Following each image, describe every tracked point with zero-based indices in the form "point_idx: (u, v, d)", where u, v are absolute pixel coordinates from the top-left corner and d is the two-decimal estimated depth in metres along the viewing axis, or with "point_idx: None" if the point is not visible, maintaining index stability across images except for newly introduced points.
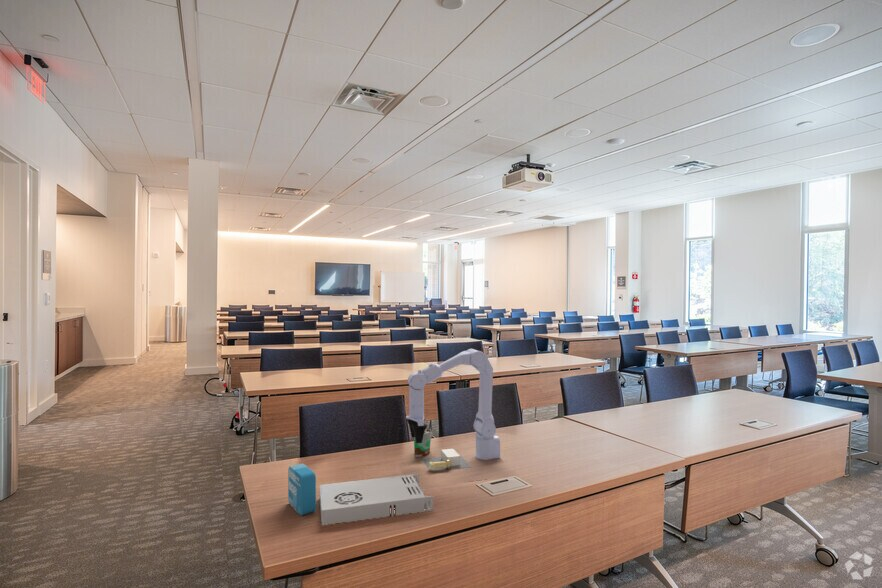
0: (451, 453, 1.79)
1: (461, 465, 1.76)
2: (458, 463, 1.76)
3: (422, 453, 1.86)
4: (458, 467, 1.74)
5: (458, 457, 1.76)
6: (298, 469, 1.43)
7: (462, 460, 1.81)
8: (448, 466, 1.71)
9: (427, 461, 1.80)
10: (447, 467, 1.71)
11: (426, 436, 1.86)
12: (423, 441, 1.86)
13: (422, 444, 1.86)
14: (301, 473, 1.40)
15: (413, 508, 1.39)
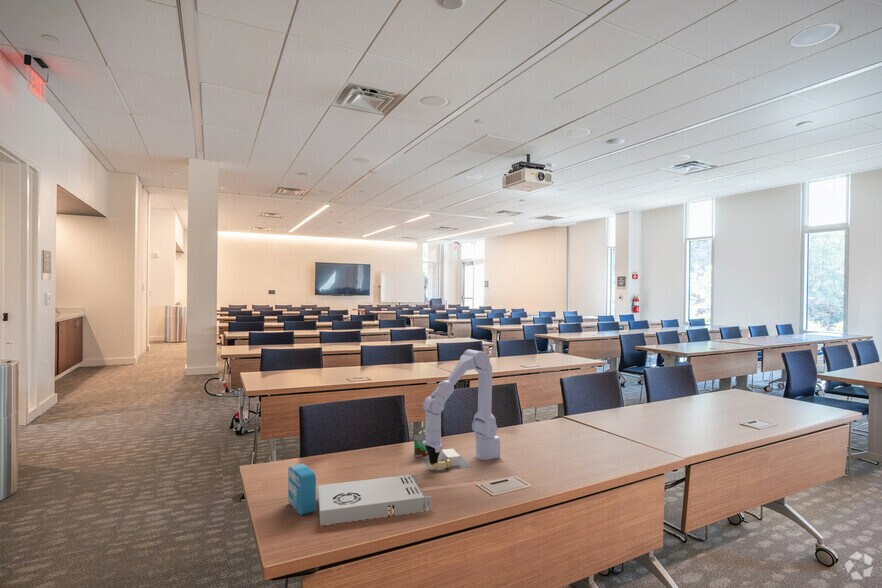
0: (451, 453, 1.79)
1: (461, 465, 1.76)
2: (458, 463, 1.76)
3: (422, 453, 1.86)
4: (458, 467, 1.74)
5: (458, 457, 1.76)
6: (298, 469, 1.43)
7: (462, 460, 1.81)
8: (448, 466, 1.71)
9: (427, 461, 1.80)
10: (447, 467, 1.71)
11: None
12: None
13: (422, 444, 1.86)
14: (301, 473, 1.40)
15: (412, 508, 1.39)
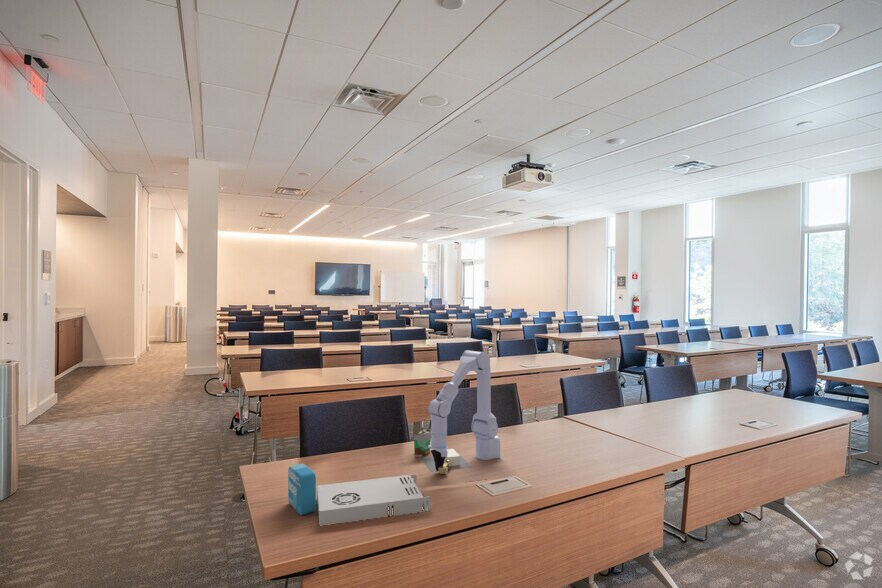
0: (451, 453, 1.79)
1: (461, 465, 1.76)
2: (458, 463, 1.76)
3: (422, 453, 1.86)
4: (458, 467, 1.74)
5: (458, 457, 1.76)
6: (298, 469, 1.43)
7: (462, 460, 1.81)
8: (450, 465, 1.72)
9: (427, 461, 1.80)
10: (449, 467, 1.72)
11: (426, 436, 1.86)
12: (423, 441, 1.86)
13: (422, 444, 1.86)
14: (301, 473, 1.40)
15: (411, 508, 1.39)
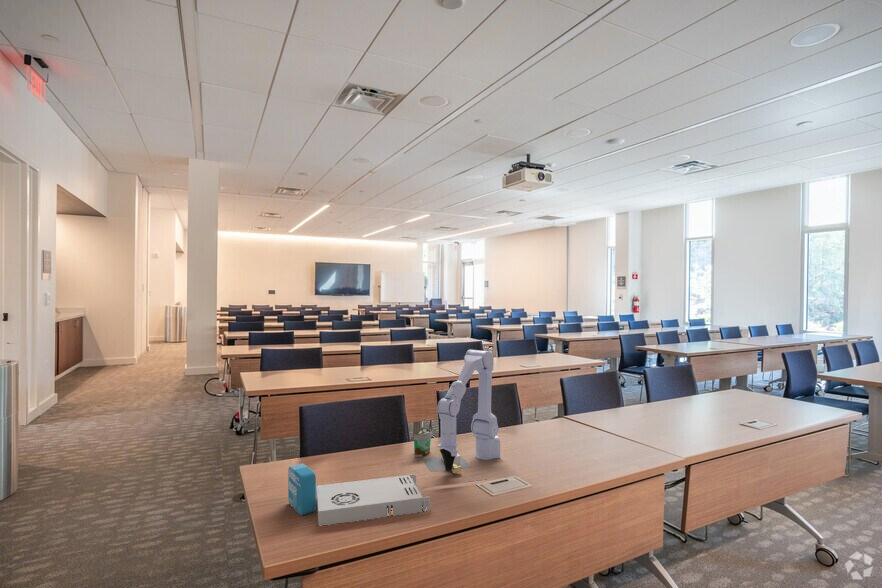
0: None
1: (461, 465, 1.76)
2: (458, 463, 1.76)
3: (422, 453, 1.86)
4: None
5: (458, 457, 1.76)
6: (298, 469, 1.43)
7: (462, 460, 1.81)
8: None
9: (427, 461, 1.80)
10: None
11: (426, 436, 1.86)
12: (423, 441, 1.86)
13: (422, 444, 1.86)
14: (301, 473, 1.40)
15: (410, 509, 1.39)
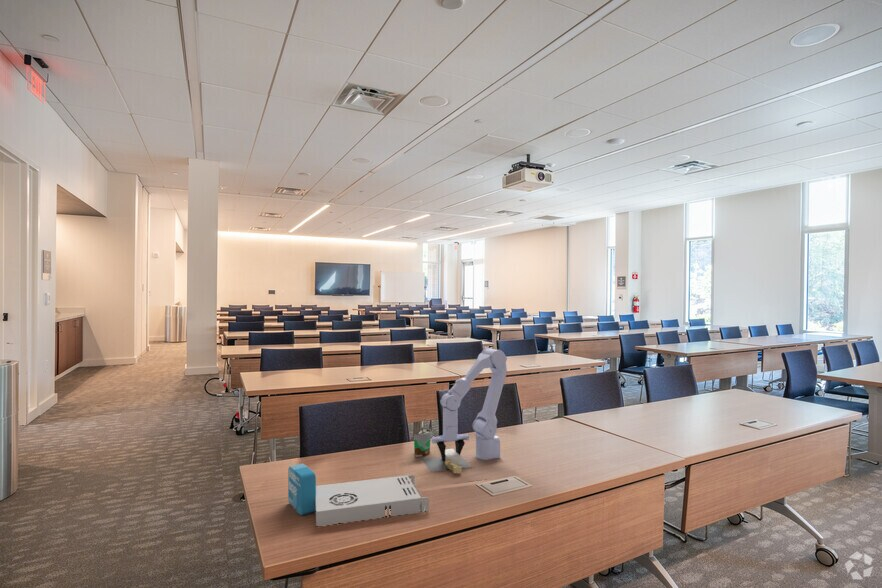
0: (451, 453, 1.79)
1: (461, 465, 1.76)
2: (458, 463, 1.76)
3: (422, 453, 1.86)
4: None
5: (458, 457, 1.76)
6: (298, 469, 1.43)
7: (462, 460, 1.81)
8: None
9: (427, 461, 1.80)
10: None
11: (426, 436, 1.86)
12: (423, 441, 1.86)
13: (422, 444, 1.86)
14: (301, 473, 1.40)
15: (408, 509, 1.39)
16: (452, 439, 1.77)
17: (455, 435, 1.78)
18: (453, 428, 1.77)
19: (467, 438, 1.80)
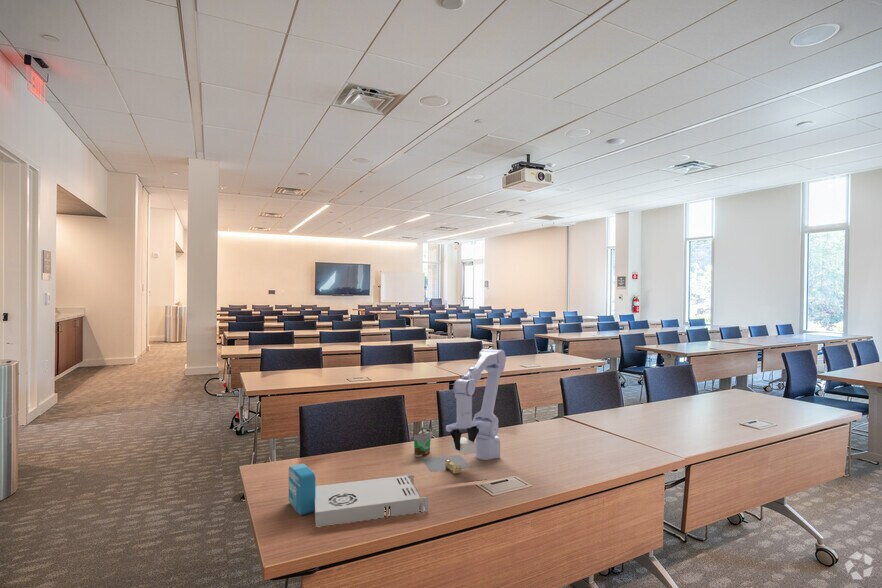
0: (464, 441, 1.72)
1: (461, 465, 1.76)
2: (474, 451, 1.69)
3: (422, 453, 1.86)
4: None
5: (474, 444, 1.69)
6: (298, 469, 1.43)
7: (462, 460, 1.81)
8: None
9: (427, 461, 1.80)
10: None
11: (426, 436, 1.86)
12: (423, 441, 1.86)
13: (422, 444, 1.86)
14: (301, 473, 1.39)
15: (408, 509, 1.38)
16: (468, 426, 1.69)
17: (470, 422, 1.70)
18: (468, 414, 1.70)
19: (480, 424, 1.74)
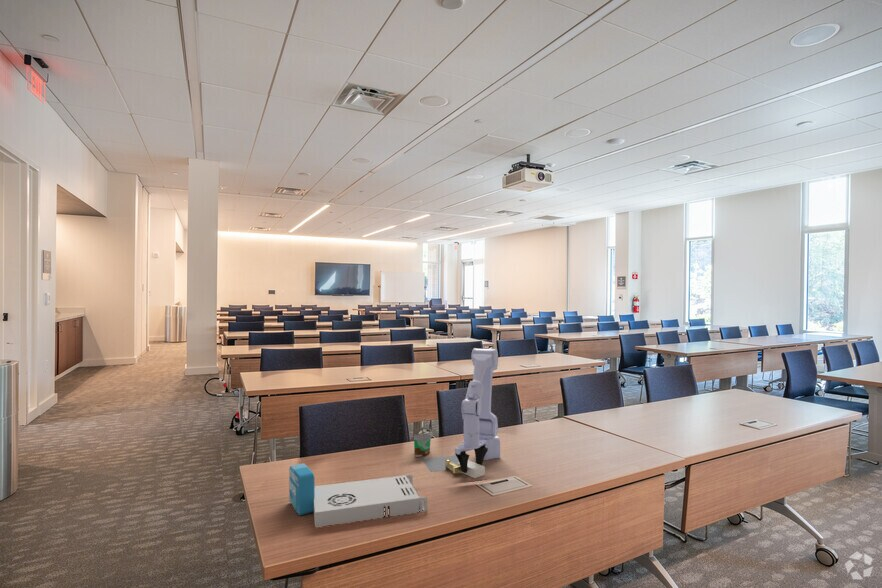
0: (471, 464, 1.68)
1: None
2: (483, 474, 1.66)
3: (422, 453, 1.86)
4: None
5: (483, 468, 1.66)
6: (298, 468, 1.43)
7: None
8: None
9: (427, 461, 1.80)
10: None
11: (426, 436, 1.86)
12: (423, 441, 1.86)
13: (422, 444, 1.86)
14: (300, 473, 1.39)
15: (407, 509, 1.38)
16: (477, 447, 1.66)
17: (478, 442, 1.67)
18: (477, 435, 1.66)
19: (486, 444, 1.72)
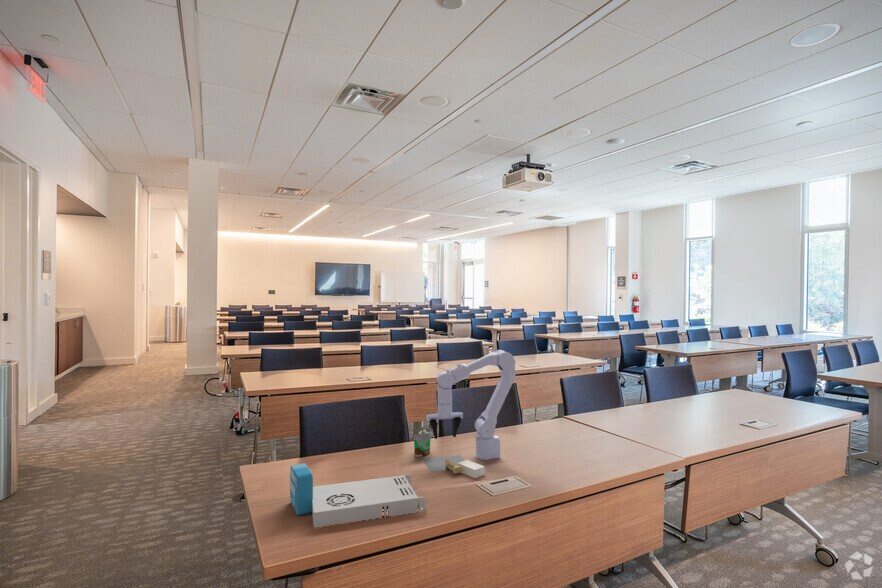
0: (471, 464, 1.68)
1: None
2: (483, 474, 1.66)
3: (422, 453, 1.86)
4: None
5: (483, 468, 1.66)
6: (298, 468, 1.43)
7: (462, 460, 1.81)
8: None
9: (427, 461, 1.80)
10: None
11: (426, 436, 1.86)
12: (423, 441, 1.86)
13: (422, 444, 1.86)
14: (299, 473, 1.39)
15: (406, 509, 1.39)
16: (446, 416, 1.80)
17: (449, 413, 1.81)
18: (447, 406, 1.81)
19: (461, 416, 1.84)
